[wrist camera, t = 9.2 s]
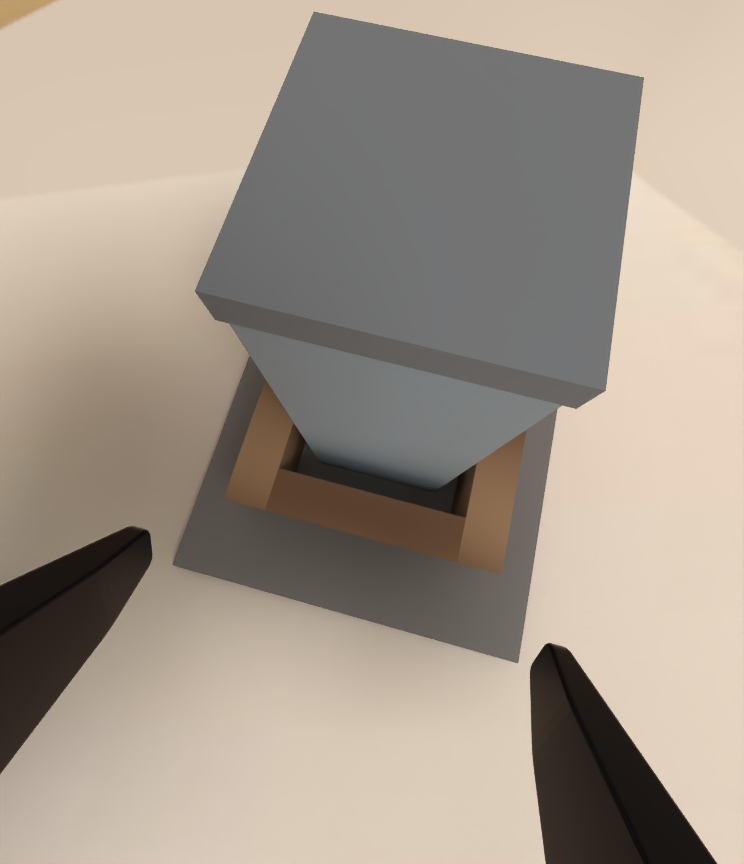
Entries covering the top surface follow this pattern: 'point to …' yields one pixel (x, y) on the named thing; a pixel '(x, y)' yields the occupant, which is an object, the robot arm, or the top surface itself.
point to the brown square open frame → (375, 514)
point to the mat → (368, 548)
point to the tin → (428, 245)
